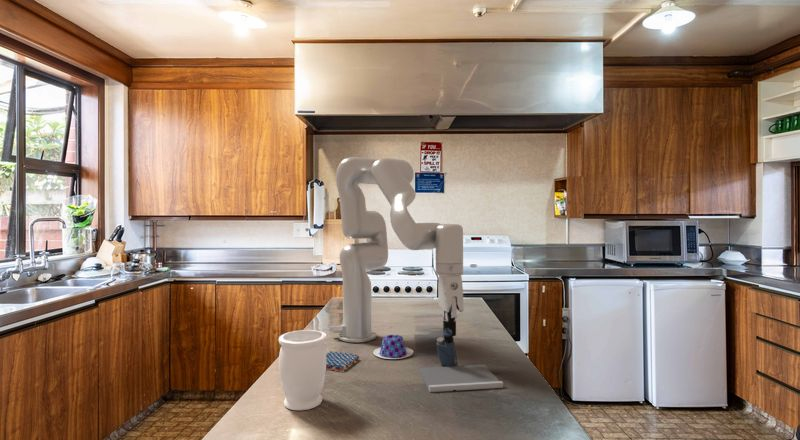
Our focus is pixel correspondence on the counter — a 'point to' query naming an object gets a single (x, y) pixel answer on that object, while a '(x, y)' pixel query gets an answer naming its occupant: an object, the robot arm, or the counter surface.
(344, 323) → the robot arm
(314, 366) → the jar
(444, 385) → the grey flat slab
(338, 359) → the woven mat
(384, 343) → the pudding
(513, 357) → the counter surface
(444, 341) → the vaping device
